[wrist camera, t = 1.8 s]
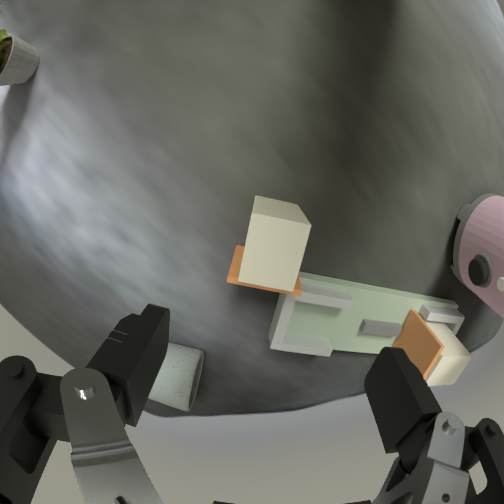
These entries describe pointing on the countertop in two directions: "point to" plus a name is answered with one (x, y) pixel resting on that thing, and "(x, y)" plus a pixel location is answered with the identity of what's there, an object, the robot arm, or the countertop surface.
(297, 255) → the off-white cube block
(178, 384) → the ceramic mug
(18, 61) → the house plant
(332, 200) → the countertop surface
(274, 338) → the rail
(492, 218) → the blender
